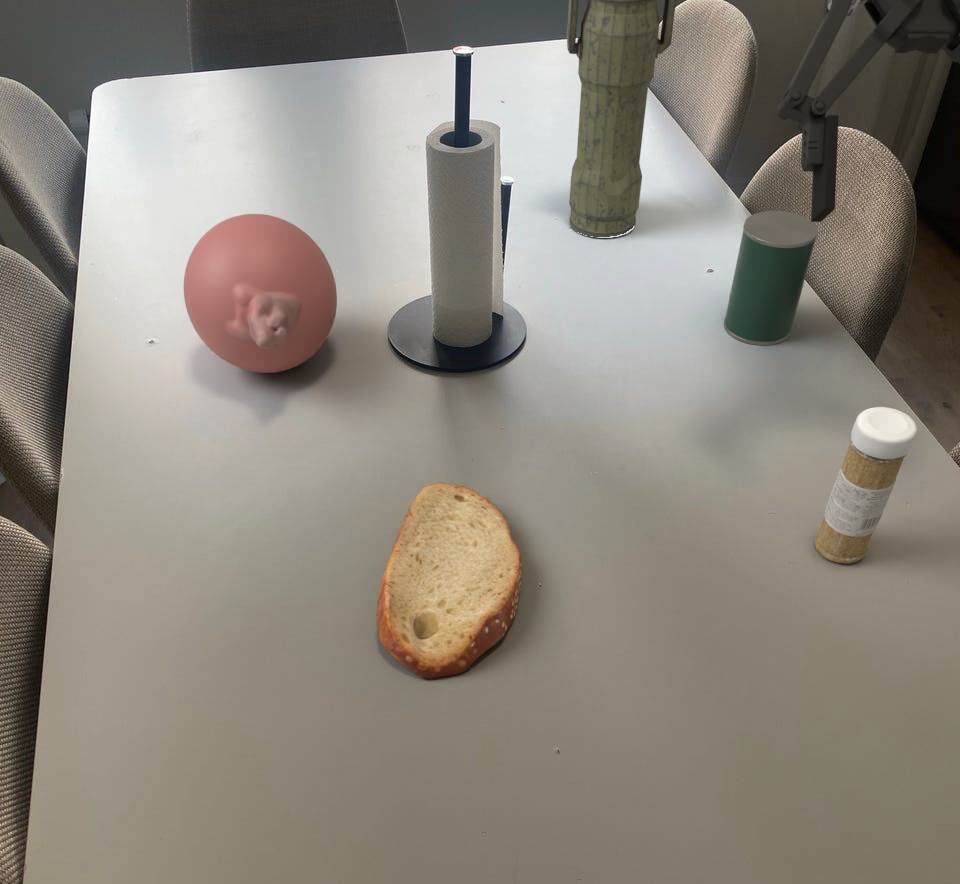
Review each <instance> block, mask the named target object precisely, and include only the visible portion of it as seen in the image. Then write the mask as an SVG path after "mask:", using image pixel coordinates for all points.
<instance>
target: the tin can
mask: <svg viewBox="0 0 960 884" xmlns="http://www.w3.org/2000/svg"><path fill="white" fill-rule="evenodd" d="M818 232H819V230H818V226H817V225H816V223H815V222H811V219H809V218H808V217H806V216H804V215H801V214H798V213H794V212H790V211H785V210H766V211H760V212H755V213H754V214H751V215H749V216H748V217H747V218H746V219H745V220H744V224H743V231H742V235H741V240H740V244H739V249H738V254H737V260H736V263H735V269H734V274H733V279H732V283H731V287H730V292H729V298H728V303H727V307H726V312H725V316H724V320H723V328H724V330H725V332H726V333H727V334H728V335H729V336H730V337H732V338H734V339H735V340H737V341H740V342H742V343H745V344H748V345H749V344H750V345H754V346H771V345H777V344H781V343H782V342H784V341H786V340H787V339H788V338H790V337H791V333H792V330H793V325H794V322H795V317H796V314H797V310H798V306H799V303H800V298H801V295H802V292H803V287H804V284H805V280H806V276H807V272H808V269H809V265H810V261H811V257H812V255H813V250H814V247H815V242H816V240H817V237H818Z"/></svg>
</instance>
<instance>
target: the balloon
mask: <svg viewBox="0 0 960 884" xmlns="http://www.w3.org/2000/svg"><path fill="white" fill-rule="evenodd" d="M337 291H338V290H337V285H336V279H335V276H334V273H333V270H332V267H331V265H330V263H329V260H328V259H327V257H326V255H325V253H324V252H323V250H322V249H321V248H320V246H319V245H318V244H317V242H316V241H315V240H314V239H313V238H312V237H311V236H310V235H308V233H306V232H305V231H304V230H302V229H301V228H300V227H298V226H297V225H295V224H294V223H291V222H290V221H288V220H285V219H283V218H281V217H277V216H274V215H269V214H265V213H246V214H245V213H244V214H239V215H235V216H232V217H229V218H226V219H224V220H223V221H221V222H219V223H217V224H215V225H214V226H212V227H211V228H210V229H209V230H208V231H206V232H205V233H204V234H203V235H202V237H200V239H199V240H198V241H197V242H196V244H195V245H194V247H193V248H192V251H191V253H190V255H189V257H188V260H187V263H186V267H185V271H184V276H183V298H184V299H183V300H184V305H185V308H186V313H187V315H188V318H189V320H190V323H191V325H192V327H193V328H194V331H195V332H196V333H197V335H198V336H199V338H200V339H201V341H202V342H203V343H204V344H205V346H206V347H207V348H208V349H209V350H210V351H211V352H213V353H214V354H215V356H217V357H219V358H220V359H221V360H223V361H225V362H226V363H228V364H230V365H232V366H234V367H236V368H238V369H241V370H245V371H247V372H248V371H249V372H252V373H258V374H259V373H261V374H272V373H280V372H284V371H288V370H291V369H293V368H296V367H298V366H300V365H302V364H303V363H305V362H307V361H308V360H309V359H310V358H311V357H313V356H314V355H315V354H316V353H317V352H318V351H319V350H320V349H321V348H322V346H323V344H325V342H326V340H328V337H329V335H330V333H331V331H332V329H333V326H334V323H335V319H336V314H337V307H338V293H337Z"/></svg>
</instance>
